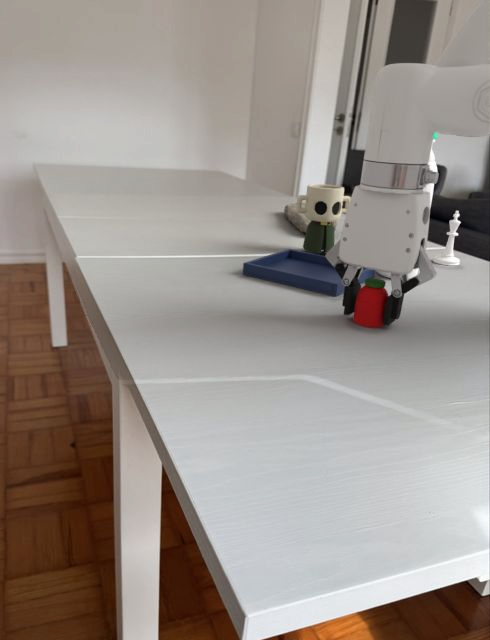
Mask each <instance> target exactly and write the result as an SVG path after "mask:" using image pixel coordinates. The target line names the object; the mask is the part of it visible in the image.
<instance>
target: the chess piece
mask: <svg viewBox="0 0 490 640" xmlns="http://www.w3.org/2000/svg"><path fill="white" fill-rule="evenodd" d="M459 212H460V211H459V210H455V213H453V216H452V217H453V219H450V220H449V231H447V232H446V235H447V236H448V239H447V242H446V244H445V247H444V251H443V252H441V254H440V255H436V256H434V257H433V260H432V261H433V262H434V263H435V264H438V265H442V266H451V267H452V266H453V267H455V266H459V265H460V264H461V263H460V262H461V259H459V258H458V257H456V256H455V254H454V246H455V245H454V243H455V237H458V236H459V233H458V232H457V230H458V228H459V226H460V224H461V223H462V222H461V221H460V220H459V219H458V218H460V213H459Z"/></svg>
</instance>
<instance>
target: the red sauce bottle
mask: <svg viewBox="0 0 490 640" xmlns="http://www.w3.org/2000/svg"><path fill="white" fill-rule="evenodd" d="M386 283H387V282H386V280H384V279H381V278H377V277H376V278H375V277H373V278H368V279H366V280H365V282H364V285H362V286H361V289H360V291H359V292H358V296H357V298H356V303H355V310H354V313H353V315H352V316H353V318H352V322H354V323H355V324H356V325H359V326H361V327H366V328H381V327H384V326H385V325H384V324H383V318H384V312H385V307H386V301H387V297H388V296H389V293H388V291H387V289H386V288H385V287H386Z"/></svg>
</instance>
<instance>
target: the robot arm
mask: <svg viewBox="0 0 490 640" xmlns="http://www.w3.org/2000/svg"><path fill="white" fill-rule="evenodd" d="M375 76H376V77H375V81H374V86H373V92H372V93H373V94H372V99H371V108H370V114H369V120H368V126H367V135H366V141H365V148H364V155H363V161H362V167H361V168H362V169H361V176H360V181H359V182H360V183H359V185H356V186H354V188H353V191H352V194H351V196H350V197H351V200H350V203H349V206H348V209H347V213H345V216H344V221H343V225H342V229H341V230H342V231H341V234H340V235H341V236H340V239H339V240H338V241H336V243H334V246H333V247H332V248H331V249H330V250H329V251H328V252H327V253H325V255H324V256H326V259H327V260H328V261H329V262H330V263H331V264H332V266H334V267H335V270H336V272H337V273H338V275H339V276H340V277H341V279H342V284H343V285H344V286H345V289H344V293H343V296H342V304H341V305H342V307H344V309H343V316H347V317H348V316H351V315H352V314H354V310H355V303H356V298H357V296H358V292H359V291H360V289H361V288H362V285H361V283H359V280H358V279H359V277H360V275H361V272H362V270H363V268H368V269H373V270H375V271H377V270H378V271H383V272H388V273H390V274H391V278H390V283H391V284H390V285H391V292H390V294H388V297H387V301H386V307H385V312H384V318H383V324H384V326H387V327H389V326H390V325H391V324H393V323H394V322H396V320H399V319H400V317H401V313H402V308H403V304H404V303H403V302H404V297H405V294H407V293H408V292H410V291H411V290H414V289H415V288H416V287H419V286H421V285H423V284H425V283H427V282H429V281H431V280H433V279H435V278H436V277H437V274H438V273H437V271H436V269H435V267H434V265H433V263H432V262H431V259H430V257H429V256H428V254H427V245H428V238H429V228H430V215H431V208H430V193H429V192H425V191H423V189H424V187H426V185H427V184H430V183H433V184H434V185H435V184H437V183H438V180H439V175H440V174H439V171H437V172H433V171H432V170H430V168H429V166H430V165H428V163H429V158H430V152H431V147H432V148H433V145H432V142H433V136H434V132H435V133H438V134H441V135H447V136H448V135H449V136H457V137H462V138H463V137H465V138H481V137H486V136H487V137H488V136H490V0H481V1H480V2H479V4H478V5H476V7H475V8H474V9H473V10H472V12H471V13H470V14H469V15H468V16H467V18H466V19H465V20H464V22H462V24H461V25H460V26H459V28H458V29H457V31H456V32H455V33H454V35H453V37H451V39H450V41H449V42H448V44H447V45H446V46H445V48H444V50H443V51H442V53H441V55H440V56H439V58H438V59H437V61H436V62H435V64H429V63H419V62H398V63H390V64H387V65H384V66H383V67H381V68H380V69H379V71H378V72H377V74H376V75H375ZM348 264H349V265H348ZM417 268H419V269H418V270H419V273H418V274H417V276H414V277H413V278H411V279H408V274H409V273H411V272H412V270H413V269H417Z"/></svg>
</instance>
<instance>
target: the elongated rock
mask: <svg viewBox="0 0 490 640" xmlns="http://www.w3.org/2000/svg"><path fill="white" fill-rule="evenodd" d="M305 203H306V202H302V206H301V207H302V208H305ZM296 208H297V202H294V203H289V204H286V205H285V206H284V209H283V213H284V215H285V216H286V218H287V219H288V222H290V223H291V224H292V225H293V227H295V228H296V229H297V230H299V231H300V233H302V234H306V231H307V227H308V224H309V223H310V222H311V220H309V219H307V218H306V217H305V214H304V213H299V212H297V210H296ZM337 221H338V220H337ZM337 221H334V222H332V224H333V226H334V232H336V229H337V225H338V223H337Z"/></svg>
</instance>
